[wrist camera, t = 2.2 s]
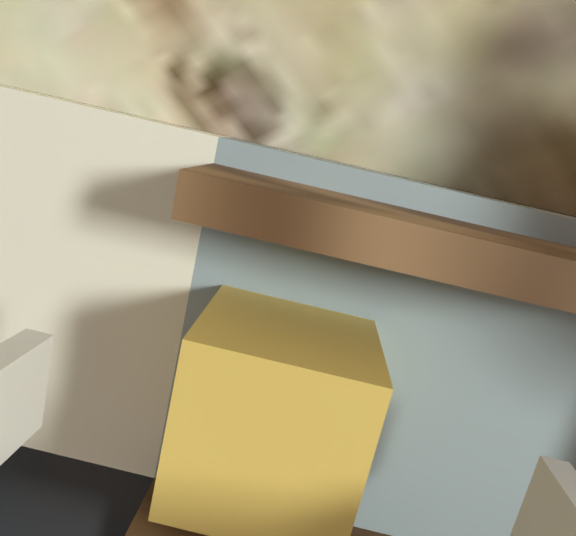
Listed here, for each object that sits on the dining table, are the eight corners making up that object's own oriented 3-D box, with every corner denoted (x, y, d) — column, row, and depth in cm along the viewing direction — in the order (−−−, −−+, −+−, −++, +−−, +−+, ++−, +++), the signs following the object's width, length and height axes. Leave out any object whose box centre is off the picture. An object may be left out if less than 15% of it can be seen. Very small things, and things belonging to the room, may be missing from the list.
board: (-81, 547, 24) (-128, 593, 21) (-46, 73, 19) (-101, 62, 17) (550, 703, 23) (577, 768, 21) (745, 256, 19) (807, 273, 16)
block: (194, 422, 19) (147, 520, 14) (222, 284, 17) (182, 339, 13) (337, 456, 18) (340, 567, 14) (374, 320, 17) (393, 389, 12)
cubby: (149, 506, 19) (104, 597, 16) (213, 163, 17) (179, 169, 13) (643, 627, 19) (724, 750, 15) (796, 298, 16) (944, 347, 12)
